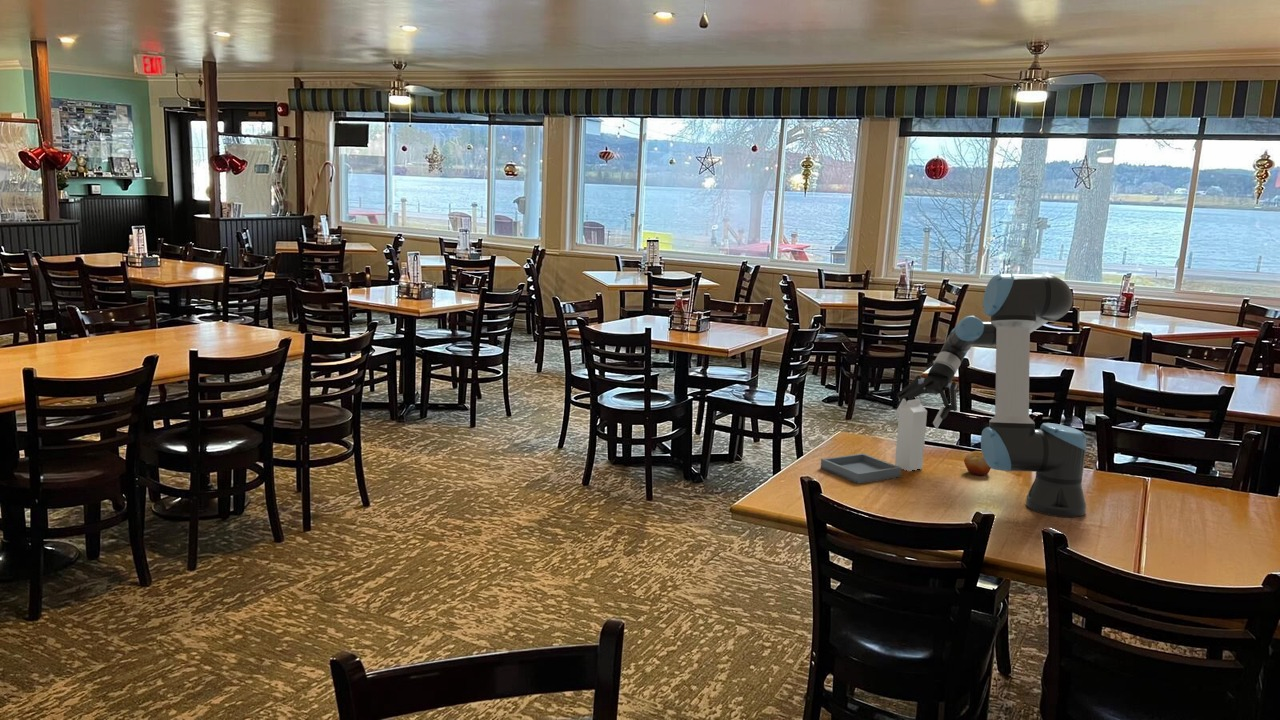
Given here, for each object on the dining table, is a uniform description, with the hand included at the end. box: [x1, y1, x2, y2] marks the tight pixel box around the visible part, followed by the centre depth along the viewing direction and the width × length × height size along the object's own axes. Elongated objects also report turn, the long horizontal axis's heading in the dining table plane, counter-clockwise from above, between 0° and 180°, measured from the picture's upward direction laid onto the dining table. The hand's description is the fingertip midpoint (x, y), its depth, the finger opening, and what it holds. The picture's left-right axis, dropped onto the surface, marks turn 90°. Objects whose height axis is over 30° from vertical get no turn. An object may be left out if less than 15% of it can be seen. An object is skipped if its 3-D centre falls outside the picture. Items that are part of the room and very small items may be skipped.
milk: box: [894, 398, 928, 472], centre depth 292 cm, size 6×6×22 cm
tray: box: [820, 453, 902, 485], centre depth 287 cm, size 17×17×3 cm
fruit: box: [963, 450, 992, 476], centre depth 290 cm, size 8×8×8 cm
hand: (915, 421), depth 294 cm, fingers open, 13 cm apart
